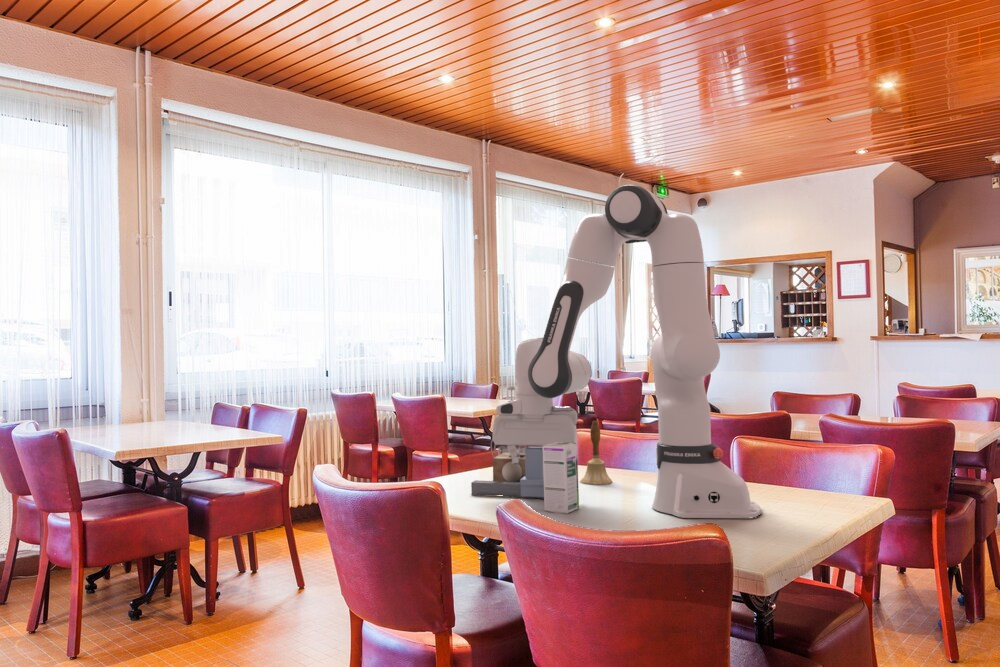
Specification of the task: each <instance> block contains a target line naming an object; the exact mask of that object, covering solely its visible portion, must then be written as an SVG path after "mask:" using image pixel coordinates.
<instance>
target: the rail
mask: <svg viewBox="0 0 1000 667" xmlns="http://www.w3.org/2000/svg"><path fill="white" fill-rule="evenodd" d="M470 487H471V496H483V495H503V496H502V497H505V496H509V498H530V499H544V497H527V496H521V485H520V482H504V481H493V480H476V479H475V480H473V481H472V482H471V486H470ZM512 496H513V497H512Z"/></svg>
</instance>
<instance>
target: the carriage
mask: <svg viewBox="0 0 1000 667" xmlns="http://www.w3.org/2000/svg"><path fill="white" fill-rule="evenodd" d="M520 485H521V496H527V497H544V478H543V446H528V447H526V449H525V477H523V478H522V479H520ZM527 497H526V498H527Z"/></svg>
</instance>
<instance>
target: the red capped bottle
mask: <svg viewBox="0 0 1000 667" xmlns="http://www.w3.org/2000/svg"><path fill="white" fill-rule="evenodd" d="M520 446H521V445H515V454H516V456H520Z"/></svg>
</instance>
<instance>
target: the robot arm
mask: <svg viewBox="0 0 1000 667" xmlns="http://www.w3.org/2000/svg"><path fill="white" fill-rule="evenodd" d="M644 242H647V243H648V246H649V248H650V253H651V268H652V270H651V271H652V287H653V288H652V289H653V302H654V303H653V304H654V307H655V309H656V312H657V316H658V320H659V326H660V330H661V334H660V335H659V336H658V337H657V338H656V339H655V340H654V342H653V343H652V346H651V349H650V359H651V364H652V365H651V366H652V373H653V375H652V376H653V381H654V382H653V383H654V387H655V395H656V401H657V403H656V404H657V417H658V423H657V426H658V442H657V444H656V450H655V452H656V454H655V455H656V457H655V458H656V467H657V469H658V470H657V471H658V472H657V483H656V489H655V495H654V498H653V499H654V500H653V503H652V506H651V507H652V509H653V510H655V511H658V512H661V513H663V514H669V515H673V516H676V517H677V518H683V519H685V518H686V519H747V518H746V517H755V518H757V517H756V516H758V515H760V514H762V510H761V509H762V507H761V505H760V504H759V503H757V502H755V501H752V500H751V496H750V490H749V488H748V485H747V482H746V481H745V480H744V479H743V478H742V477H741V476H740V475H739V474H737V473H736V472H735V471H733V470H732V469H731V468H730V467H728V466H727V465H725V464H724V463H723V462H722V461H721V460H722V457H723V455H724V451H723V449H722V448H720V447H719V446H718V445H716V444H714V443H712V431H711V430H712V427H711V426H712V425H711V424H712V423H711V406H710V403H709V400H708V397H707V396H708V395H707V392H706V387H705V382H704V378H705V377H707V376H709V375H710V374H711V373H713V372H714V370H715V369H716V368H717V366H718V365H719V362H720V358H721V351H720V346H719V344H718V343H717V340H716V338H715V337H716V336H715V332H714V327H713V323H712V319H711V315H710V310H709V306H708V301H707V291H706V289H707V288H706V276H705V260H704V251H703V250H704V249H703V244H702V239H701V233H700V230H699V226H698V223H697V221H696V220H695V219H694V218H692V217H690V216H689V215H685V214H683V213H682V214H681V213H674V214H669V212H668V211H667V206H666V205H665V204H664V202H663V201H662V200H661V199H659V198H658V196H657V195H656V194H655V193H653V192H651V190H649V189H646V188H644V187H643V186H641V185H638V184H625V185H621V186H619V187H617V188H615V189H614V190H613V191H612V192H611V193H609V195H608V196H607V199H606V201H605V205H604V213H603V214H602V213H591V214H587V215H585V216H583V217H582V218H580V220H579V222H578V225H577V227H576V229H575V231H574V233H573V237H572V240H571V242H570V246H569V249H568V253H567V259H566V263H565V267H564V271H563V276H562V278H561V281H560V285H559V289H558V290H557V293H556V296H555V298H554V301H553V304H552V306H551V311H550V313H549V318H548V320H547V324H546V327H545V331H544V334H543V337H535V338H531V339H530V338H529V339H525V340H523V341H521V342H519V344H518V345H517V348H516V352H515V361H514V362H515V363H514V371H515V372H514V373H515V374H514V375H515V379H516V388H515V398H514V399H512V400H511V399H510V400H509V401H507V402H504V403H501V404H499V405H497V406H496V409H495V410H496V414H497V416H495V417H494V420H493V426H492V438H493V441H492V443H494V445H495V446H507V450H508V452H509V453H510V455H511V457H512V464H520V460H519V459H520V456H516V454H515V452H514V450H513V449H515V445H520V446H526V447H527V446H528V447H543V445H548V444H552V443H555V442H571V443H576V444H577V443H578V430H577V424H578V421H579V420H578V412H577V411H576V409H574V408H572V407H571V406H556V405H555V406H554V405H553V399H555V398H556V397H560V396H562V395H566V394H567V395H568V394H571V393H575V392H579V391H581V390H583V389H584V388H586V387H587V386H588V385H589V383H590V381H591V379H592V367H591V363H590V362H589V360H588V359H587V357H585V356H584V355H583V354H580V353H578V352H576V351H572V350H571V346H572V344H573V339H574V336H575V332H576V328H577V325H578V322H579V320H580V319H581V318H580V317H581V316H582V315H583V313H584V312H585V311H586V310H587V309H588V308H589V307H590V306H592V305H594V303H596V302H598V301H599V300H600V299H602V298H603V297H605V295H606V294H607V293H608V291H609V288H610V286H611V283H612V280H613V277H614V273H615V267H616V263H617V259H618V258H617V257H618V255H619V251H620V248H621V247H622V245H624V244H625V243H626V244H634V243H644ZM760 516H761V515H760ZM741 517H742V518H741ZM743 517H745V518H743ZM758 517H759V516H758Z"/></svg>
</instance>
